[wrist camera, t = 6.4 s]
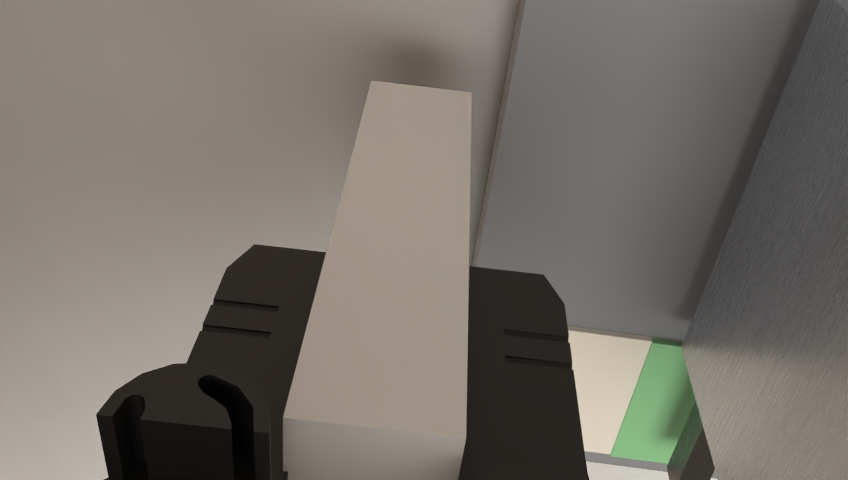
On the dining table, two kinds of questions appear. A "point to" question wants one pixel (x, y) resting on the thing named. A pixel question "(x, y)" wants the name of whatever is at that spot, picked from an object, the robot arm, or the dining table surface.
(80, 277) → the dining table surface
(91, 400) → the dining table surface
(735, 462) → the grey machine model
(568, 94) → the gauge base
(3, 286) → the dining table surface
